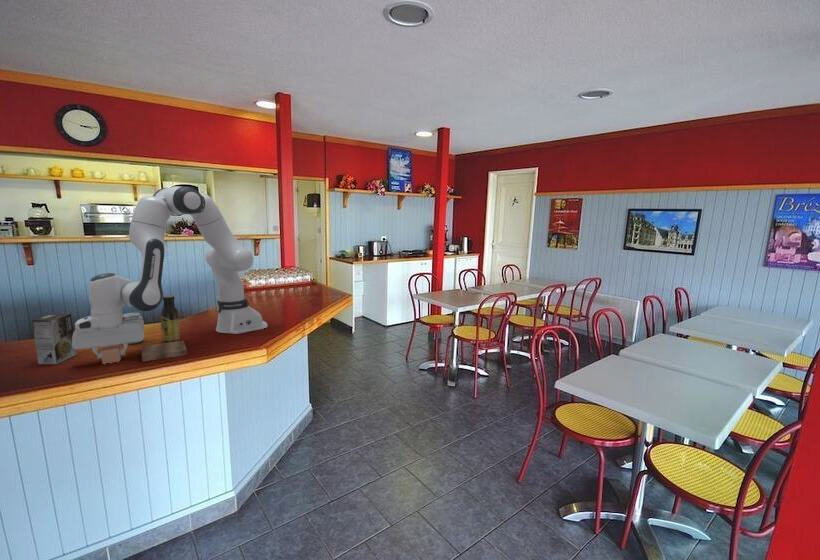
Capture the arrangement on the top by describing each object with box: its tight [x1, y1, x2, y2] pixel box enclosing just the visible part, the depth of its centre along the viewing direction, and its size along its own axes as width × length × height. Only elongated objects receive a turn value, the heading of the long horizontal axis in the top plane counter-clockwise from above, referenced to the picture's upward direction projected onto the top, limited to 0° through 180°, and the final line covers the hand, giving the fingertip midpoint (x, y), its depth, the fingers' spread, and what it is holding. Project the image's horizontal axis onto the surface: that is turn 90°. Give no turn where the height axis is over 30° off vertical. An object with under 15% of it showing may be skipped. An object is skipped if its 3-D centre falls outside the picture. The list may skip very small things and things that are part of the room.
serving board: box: [141, 340, 188, 363], centre depth 146 cm, size 14×13×2 cm
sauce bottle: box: [160, 294, 180, 343], centre depth 157 cm, size 6×6×20 cm
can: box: [123, 312, 145, 345], centre depth 157 cm, size 8×8×12 cm
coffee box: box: [31, 312, 77, 365], centre depth 136 cm, size 9×6×16 cm
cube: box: [100, 344, 122, 365], centre depth 137 cm, size 5×5×5 cm
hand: (111, 356), depth 137 cm, fingers closed on cube, 5 cm apart
